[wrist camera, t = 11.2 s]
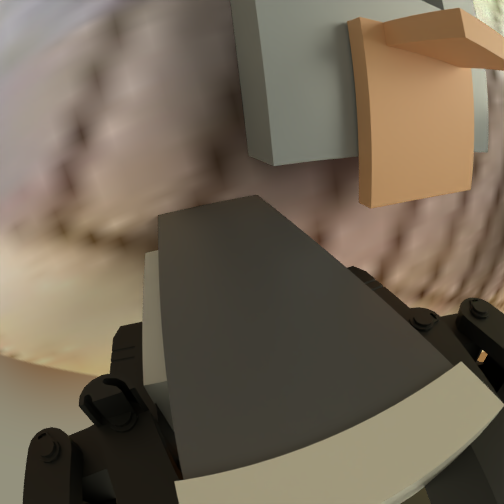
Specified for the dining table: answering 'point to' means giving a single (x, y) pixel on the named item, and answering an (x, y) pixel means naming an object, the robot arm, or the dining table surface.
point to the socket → (316, 75)
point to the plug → (298, 370)
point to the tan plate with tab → (418, 102)
